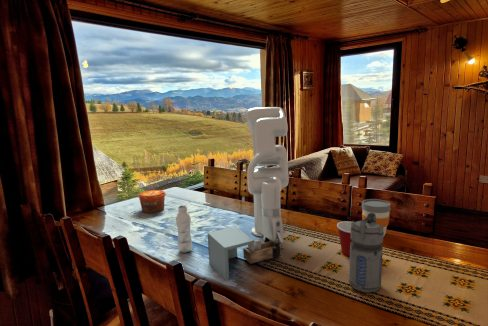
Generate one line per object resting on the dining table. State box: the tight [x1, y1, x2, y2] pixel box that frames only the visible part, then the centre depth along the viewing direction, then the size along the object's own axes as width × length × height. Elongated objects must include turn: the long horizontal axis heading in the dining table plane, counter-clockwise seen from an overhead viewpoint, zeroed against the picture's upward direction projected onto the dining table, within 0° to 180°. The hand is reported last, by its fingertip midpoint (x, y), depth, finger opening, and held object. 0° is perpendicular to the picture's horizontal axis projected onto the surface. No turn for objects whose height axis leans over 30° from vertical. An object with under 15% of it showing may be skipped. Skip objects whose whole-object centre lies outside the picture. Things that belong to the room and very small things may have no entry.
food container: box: [137, 189, 167, 214], centre depth 200 cm, size 16×16×11 cm
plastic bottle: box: [175, 205, 193, 254], centre depth 142 cm, size 6×7×20 cm
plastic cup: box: [336, 220, 355, 257], centre depth 136 cm, size 11×11×12 cm
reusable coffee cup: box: [361, 198, 392, 237], centre depth 155 cm, size 12×13×15 cm
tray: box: [242, 239, 282, 265], centre depth 134 cm, size 14×6×7 cm, turn 118°
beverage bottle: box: [348, 213, 385, 293], centre depth 111 cm, size 10×13×25 cm
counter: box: [207, 226, 255, 282], centre depth 128 cm, size 12×16×13 cm
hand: (271, 252), depth 137 cm, fingers closed on tray, 6 cm apart
